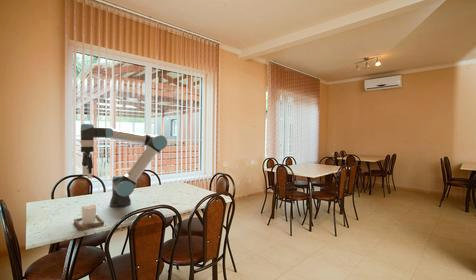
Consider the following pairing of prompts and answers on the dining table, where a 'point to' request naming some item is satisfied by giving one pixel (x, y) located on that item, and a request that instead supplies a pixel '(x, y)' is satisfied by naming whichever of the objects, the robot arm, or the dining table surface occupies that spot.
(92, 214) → the pale pink cup
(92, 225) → the walnut tray
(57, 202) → the dining table surface
